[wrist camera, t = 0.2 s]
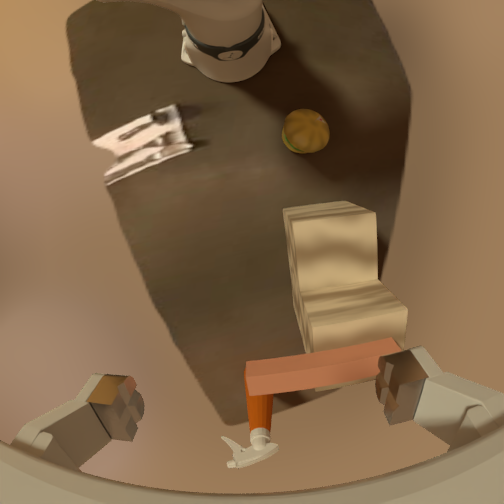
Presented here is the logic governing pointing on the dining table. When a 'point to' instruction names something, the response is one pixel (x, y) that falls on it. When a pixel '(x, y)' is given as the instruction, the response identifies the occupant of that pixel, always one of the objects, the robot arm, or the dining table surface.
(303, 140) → the hamburger
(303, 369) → the bar
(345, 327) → the stepped stand
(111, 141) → the dining table surface
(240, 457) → the spray bottle
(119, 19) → the dining table surface
